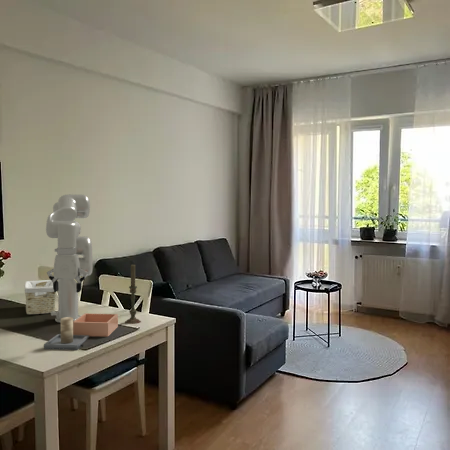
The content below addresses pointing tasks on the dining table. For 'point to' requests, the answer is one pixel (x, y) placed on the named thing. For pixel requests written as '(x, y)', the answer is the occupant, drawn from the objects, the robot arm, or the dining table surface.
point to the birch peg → (66, 330)
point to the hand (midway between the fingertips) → (67, 291)
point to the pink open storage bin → (95, 324)
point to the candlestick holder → (132, 298)
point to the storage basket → (40, 297)
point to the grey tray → (56, 344)
